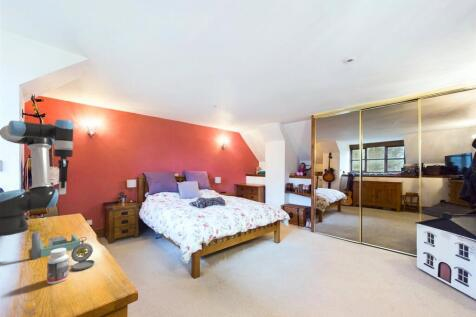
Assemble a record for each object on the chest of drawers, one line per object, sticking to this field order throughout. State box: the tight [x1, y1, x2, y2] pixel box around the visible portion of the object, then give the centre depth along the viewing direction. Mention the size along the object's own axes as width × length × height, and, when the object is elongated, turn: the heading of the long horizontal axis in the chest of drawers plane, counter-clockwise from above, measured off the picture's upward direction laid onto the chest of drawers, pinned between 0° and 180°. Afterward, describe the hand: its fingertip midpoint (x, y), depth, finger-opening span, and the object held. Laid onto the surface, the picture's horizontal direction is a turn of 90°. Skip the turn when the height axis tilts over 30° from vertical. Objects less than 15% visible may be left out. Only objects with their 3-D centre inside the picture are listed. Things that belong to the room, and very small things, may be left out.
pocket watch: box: [70, 236, 95, 271], centre depth 78 cm, size 8×8×10 cm
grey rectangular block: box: [48, 235, 68, 247], centre depth 96 cm, size 7×5×4 cm
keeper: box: [31, 230, 81, 260], centre depth 94 cm, size 15×16×10 cm
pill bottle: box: [46, 248, 70, 285], centre depth 68 cm, size 5×5×10 cm
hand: (62, 194), depth 109 cm, fingers closed
